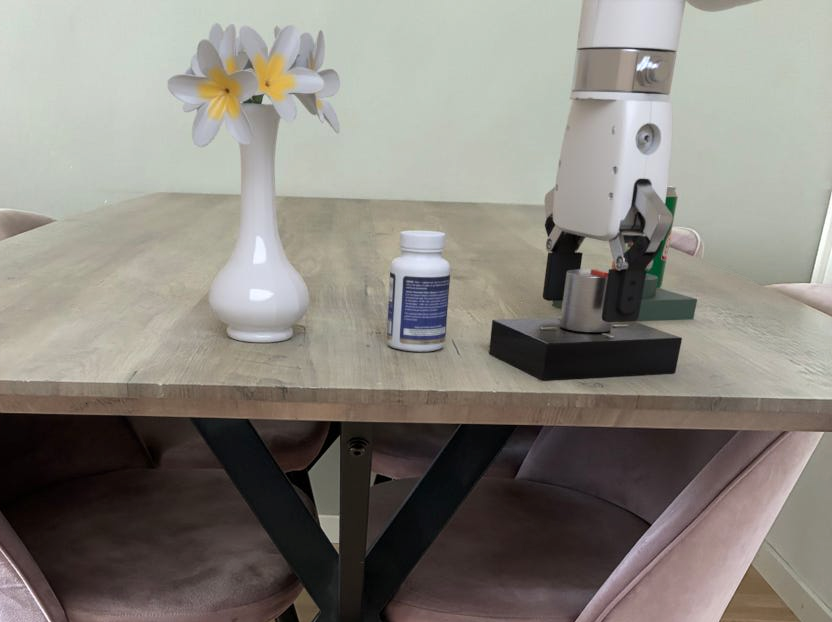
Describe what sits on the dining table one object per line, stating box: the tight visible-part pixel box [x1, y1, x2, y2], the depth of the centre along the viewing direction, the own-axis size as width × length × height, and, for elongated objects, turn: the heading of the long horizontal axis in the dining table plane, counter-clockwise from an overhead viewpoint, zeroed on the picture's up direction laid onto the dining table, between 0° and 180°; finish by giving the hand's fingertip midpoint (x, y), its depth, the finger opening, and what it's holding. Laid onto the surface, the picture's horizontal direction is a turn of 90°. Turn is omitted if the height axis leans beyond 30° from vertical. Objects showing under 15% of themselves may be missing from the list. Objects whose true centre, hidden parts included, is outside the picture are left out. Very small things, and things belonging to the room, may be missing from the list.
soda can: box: [626, 185, 678, 289], centre depth 119 cm, size 5×5×12 cm
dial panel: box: [488, 316, 683, 382], centre depth 83 cm, size 13×10×3 cm
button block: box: [551, 273, 698, 322], centre depth 106 cm, size 12×10×4 cm
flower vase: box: [167, 22, 341, 344], centre depth 83 cm, size 13×18×25 cm
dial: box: [560, 268, 612, 333], centre depth 82 cm, size 4×4×5 cm
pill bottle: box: [386, 229, 451, 353], centre depth 86 cm, size 5×5×10 cm
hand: (587, 309), depth 82 cm, fingers open, 9 cm apart
